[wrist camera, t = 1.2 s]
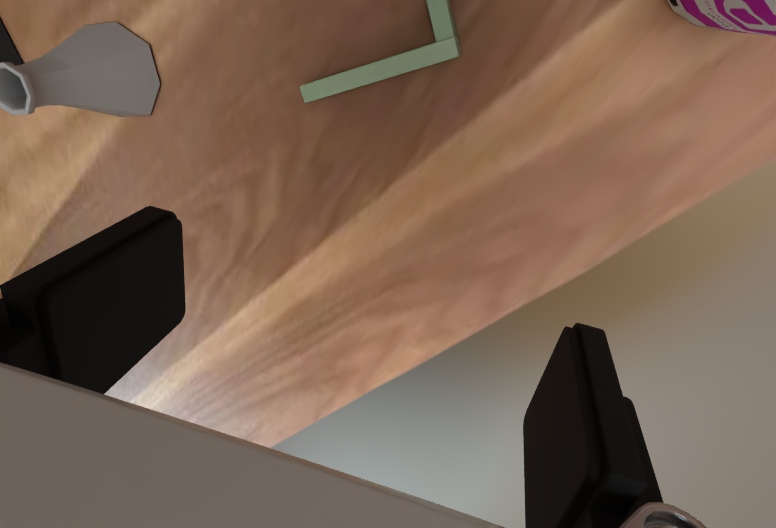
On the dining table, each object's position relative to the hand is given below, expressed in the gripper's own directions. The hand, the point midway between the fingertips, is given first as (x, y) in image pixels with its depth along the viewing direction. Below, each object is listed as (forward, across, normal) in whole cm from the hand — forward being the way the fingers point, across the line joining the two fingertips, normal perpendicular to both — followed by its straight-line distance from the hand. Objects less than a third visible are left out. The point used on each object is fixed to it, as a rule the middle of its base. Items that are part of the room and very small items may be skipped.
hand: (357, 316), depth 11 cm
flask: (+26, +27, +3) cm, 38 cm away
